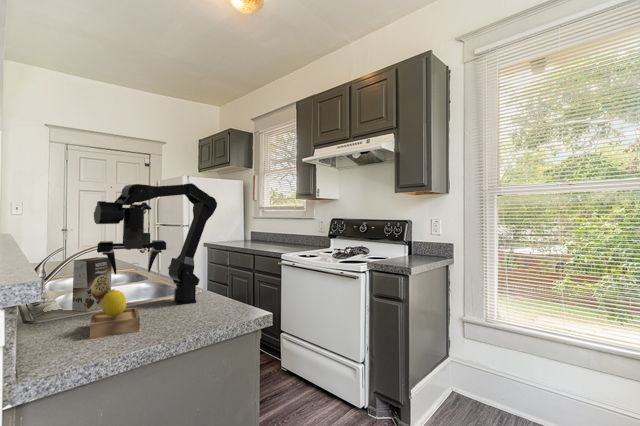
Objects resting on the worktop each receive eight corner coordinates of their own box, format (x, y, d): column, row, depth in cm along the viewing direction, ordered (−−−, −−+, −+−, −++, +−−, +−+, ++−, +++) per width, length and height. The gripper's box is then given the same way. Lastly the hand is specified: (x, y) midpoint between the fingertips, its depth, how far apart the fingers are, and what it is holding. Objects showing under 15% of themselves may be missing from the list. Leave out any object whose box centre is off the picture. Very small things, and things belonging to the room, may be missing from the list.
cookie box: (88, 312, 105) (89, 261, 105) (71, 310, 106) (72, 259, 106) (111, 304, 114) (112, 257, 114) (95, 303, 115) (96, 256, 115)
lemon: (116, 312, 95) (114, 285, 94) (131, 315, 93) (129, 287, 92) (98, 320, 90) (96, 291, 89) (113, 323, 88) (111, 294, 87)
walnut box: (137, 321, 99) (137, 307, 99) (139, 333, 90) (139, 318, 90) (92, 327, 93) (92, 312, 93) (89, 341, 84) (90, 324, 84)
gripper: (96, 224, 94) (95, 280, 94) (169, 225, 104) (167, 275, 104) (98, 223, 103) (97, 273, 103) (164, 223, 113) (163, 269, 113)
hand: (132, 273), depth 106 cm, fingers open, 9 cm apart
